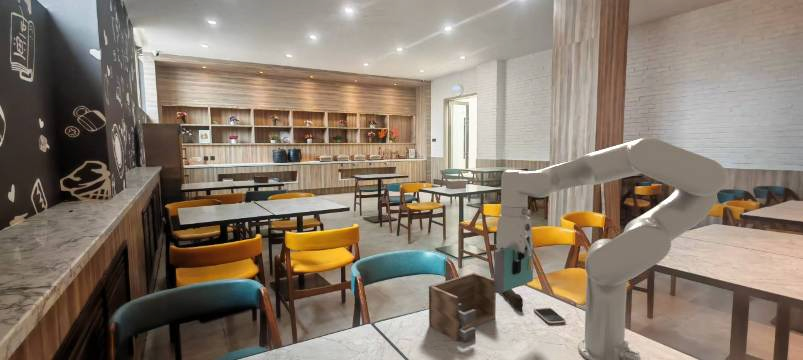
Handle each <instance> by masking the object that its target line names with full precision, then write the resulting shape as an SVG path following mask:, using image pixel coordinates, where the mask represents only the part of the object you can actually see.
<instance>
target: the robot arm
mask: <svg viewBox="0 0 803 360" xmlns="http://www.w3.org/2000/svg"><path fill="white" fill-rule="evenodd" d="M640 174H642V175H645V176H646V177H649V178H651V179H654V180H656V181H658V182H660V183H662V184H665V185H668V186H671V187H673V188H674V191H673V192H672V193H671V194H670V195H669V196H668V197H666V199H664V200H663V201H661V202H660V203H658V204H657V205H655V206H654V207H653V208H651V209H649V210H648V211H646V212H644V213H643V214H641V215H639V216H638V217H636V218H634V219H632V220H631V221H629V222H628V223H627V224H626V225H625V227H624V229H623V232H622V233H621V234H618V235H617V236H615V237H614V238H613V239H611V238H601V239H598V240H596V241H594V242H593V243H592V244H591V245H590V246H589V248H588V249H587V253H586V257H585V261H584V266H585V267H584V268H585V272H586V287H585V288H586V289H585V290H586V292H585V293H586V294H585V311H584V312H585V314H584V315H585V316H584V317H585V318H584V339H583V340H580V341H579V342H578V344H577V346H578V348H577V350H578V352H579V353H580V354H581V356H582V357H584V358H586V359H587V360H641V356H640V352H639V351H636V350H633V349H631V348H630V347H629V342H628V341H626V340H625V330H626V310H627V287H628V280H631V279H633V278H634V277H636V276H638V275H639V274H641V273H643V272H645V271H647V270H648V269H650V268H652V267H653V266H655V265H657V264H658V263H660V262H661V261H662V260H663V259H665V258H666V257H667V256H668V254H669V253H670V250H671V247H672V241H674V240H675V239H676V238H678V237H680V236H682V235H683V234H685V233H687V232H688V231H689V230H690V229H693V228H694V227H696V226H697V225H698V224H699V223H701V222H702V221H704V219H706V218H707V216H708V215H709V214H710V213H711V211H712V210H713V208H714V206H715V203H716V202H717V198H718V197H717V196H718V192H720V191H721V190H722V189H723V188H724V187H725V185H726V183H727V178H728V177H727V176H728V174H727V171H726V169H725V168H724V167H723V165H722V164H721V163H719V162H718V161H716V160H714V159H711V158H708V157H705V156H704V155H700V154H697V153H695V152H692V151H689V150H687V149H683V148H681V147H678V146H676V145H674V144H671V143H668V142H666V141H664V140H662V139H659V138H656V137H650V136H649V137H641V138H638V139H635V140H631V141H628V142H625V143H624V142H623V143H621V144H617V145H614V146H610V147H607V148H604V149H600V150H597V151H593V152H590V153H587V154H584V155H582V156H580V157H578V158H576V159H572V160H569V161H567V162H562V163H560V164H559V163H558V164H555V165H552V166H548V167H546V168H541V169H538V170H534V171H526V170H523V169H506V170H504V171H502V173H501V183H500V184H501V187H500V188H501V190H500V193H501V194H500V195H501V196H500V197H501V198H500V200H501V201H500V215H499V216H498V218H497V224H496V225H497V226H496V236H495V237H496V238H495V239H496V244H495V248H496V250H500V249H504V248H508V249H512V250H513V251H514V261H513V271H512V273H513V274H514V275H515V274H518V273H520V272H521V260H523V259H524V258H525V257H528V256H531V255H532V252H531V249H532V246H533V227H532V222H531V218H530V217H529V215H531V210H530V209H529V207H528V206H529V205H528V197H533V198H546V197H548V196H550V195H551V194H553V193H555V192H558V191H559V192H560V191H562V190H567V189H570V188H573V187H578V186H585V185H586V186H588V185H589V186H591V185H592V186H595V185H602V184H606V183H609V182H612V181H617V180H620V179H625V178H629V177H632V176H637V175H640ZM524 250H525V253H523V252H524Z"/></svg>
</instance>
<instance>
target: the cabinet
mask: <svg viewBox="0 0 803 360" xmlns="http://www.w3.org/2000/svg"><path fill="white" fill-rule="evenodd" d="M496 296H497V293H495V292H494V278H492V277H488V276H485V275H483V274H480V273H478V272H471V273H468V274H465V275H462V276H458V277H454V278H452V279H448V280H445V281H441V282H438V283H434V284H432V285H428V326H429V327H431V328H432V329H434V330H436V331H438V332H440V333H441V334H443V335H445V336H446V337H448V338H450V339H452V340H453V341H455V342H456V341H460V342H462V343H467V342H469V341H471V340H473V339H476V337H477V336H476V329H477V328H476V327H478V326H481V325H483V324H485V323H488V322H490V321H492V320H495V319H496V308H497V307H496V306H497V305H496V304H497V303H496V298H497V297H496Z"/></svg>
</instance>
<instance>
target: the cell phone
mask: <svg viewBox="0 0 803 360" xmlns="http://www.w3.org/2000/svg"><path fill="white" fill-rule="evenodd" d="M533 312H534V313H535V314H536V315H538V317H539V318H540V319H542V320H543V321H544V322H545V323H546V324H547V325H550V326H552V325H554V326H555V325H564V324H566V322H567V321H566V319H565V318H564V317H563V316H561V315H560V314H558V313H557V312H556V311H555V310H554V309H552V308H551V307H543V308H542V307H541V308H533Z"/></svg>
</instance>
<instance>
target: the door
mask: <svg viewBox="0 0 803 360" xmlns="http://www.w3.org/2000/svg"><path fill="white" fill-rule="evenodd" d="M534 247H535V246H534V243H533V246H532V249H531V252H532V255H531V256H528V257H525V258H524V259H523V260H521V272H520V273H518V274H515V275H514V274H513V273H512V271H513V261H514V251H513V250H512V249H508V248H504V249H500V250H499V249H495V250H494V259H493V260H494V261H493V262H494V265H493V266H494V268H493V279H494V292H495V293H496V294H503V293H504V292H505V291H507V290H510V289H512V290H513V289H515V288H518V287H520V286H523V285H525V284H528V283H532V282H533V279H534V277H533V276H534V250H535V249H534ZM523 253H525V250H524V252H523Z"/></svg>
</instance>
